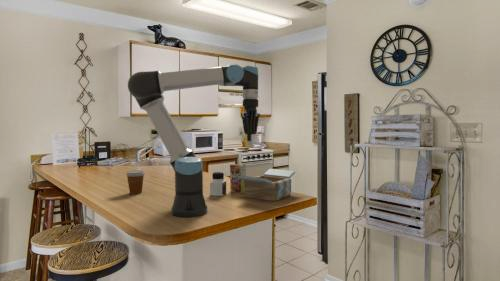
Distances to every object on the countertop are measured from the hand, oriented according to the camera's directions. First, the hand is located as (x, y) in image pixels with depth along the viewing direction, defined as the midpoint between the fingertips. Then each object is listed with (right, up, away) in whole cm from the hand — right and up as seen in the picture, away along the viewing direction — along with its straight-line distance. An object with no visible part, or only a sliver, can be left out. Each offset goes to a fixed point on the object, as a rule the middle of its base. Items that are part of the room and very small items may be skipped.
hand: (250, 147), depth 159 cm
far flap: (+14, -16, +20) cm, 29 cm away
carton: (+9, -26, +14) cm, 30 cm away
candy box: (-7, -26, +24) cm, 35 cm away
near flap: (+4, -17, +7) cm, 19 cm away
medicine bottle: (-17, -26, +18) cm, 36 cm away
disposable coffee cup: (-63, -26, +22) cm, 72 cm away
